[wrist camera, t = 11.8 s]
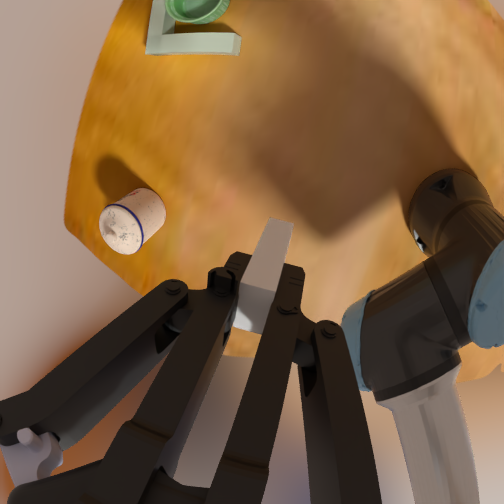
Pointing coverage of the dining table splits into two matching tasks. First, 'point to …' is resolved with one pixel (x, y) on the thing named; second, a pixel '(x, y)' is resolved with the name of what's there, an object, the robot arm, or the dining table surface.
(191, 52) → the holder
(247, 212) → the dining table surface
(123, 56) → the dining table surface
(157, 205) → the teacup with lid
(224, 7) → the ramekin
